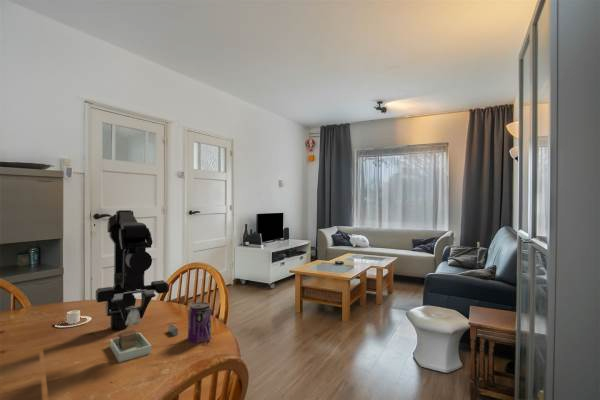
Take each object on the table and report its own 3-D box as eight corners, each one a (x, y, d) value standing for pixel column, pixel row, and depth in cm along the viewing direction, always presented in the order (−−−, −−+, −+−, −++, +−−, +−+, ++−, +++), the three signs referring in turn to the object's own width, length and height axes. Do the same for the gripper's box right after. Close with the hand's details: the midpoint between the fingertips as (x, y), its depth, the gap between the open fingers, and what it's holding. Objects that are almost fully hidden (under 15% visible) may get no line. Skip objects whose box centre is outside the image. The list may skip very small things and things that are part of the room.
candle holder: (77, 329, 117) (77, 317, 117) (44, 329, 117) (44, 317, 117) (98, 318, 129) (98, 307, 129) (69, 317, 129) (69, 307, 129)
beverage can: (204, 347, 101) (204, 308, 102) (183, 345, 103) (184, 307, 103) (214, 338, 108) (214, 302, 109) (195, 336, 110) (195, 301, 110)
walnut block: (118, 345, 100) (119, 332, 100) (133, 342, 102) (133, 329, 103) (121, 349, 97) (122, 336, 97) (136, 346, 99) (136, 333, 99)
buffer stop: (168, 334, 111) (168, 325, 111) (172, 333, 112) (172, 324, 112) (173, 339, 108) (173, 329, 108) (177, 337, 109) (177, 328, 109)
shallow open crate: (109, 349, 100) (109, 338, 100) (139, 341, 105) (139, 331, 105) (119, 366, 89) (119, 354, 89) (152, 357, 94) (152, 346, 94)
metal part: (126, 326, 93) (126, 310, 93) (124, 322, 96) (124, 307, 96) (141, 323, 95) (141, 308, 95) (139, 319, 98) (139, 304, 98)
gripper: (160, 260, 108) (159, 307, 107) (94, 266, 97) (93, 318, 96) (169, 265, 99) (168, 316, 99) (97, 272, 88) (96, 330, 87)
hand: (133, 319), depth 95 cm, fingers closed on metal part, 4 cm apart
